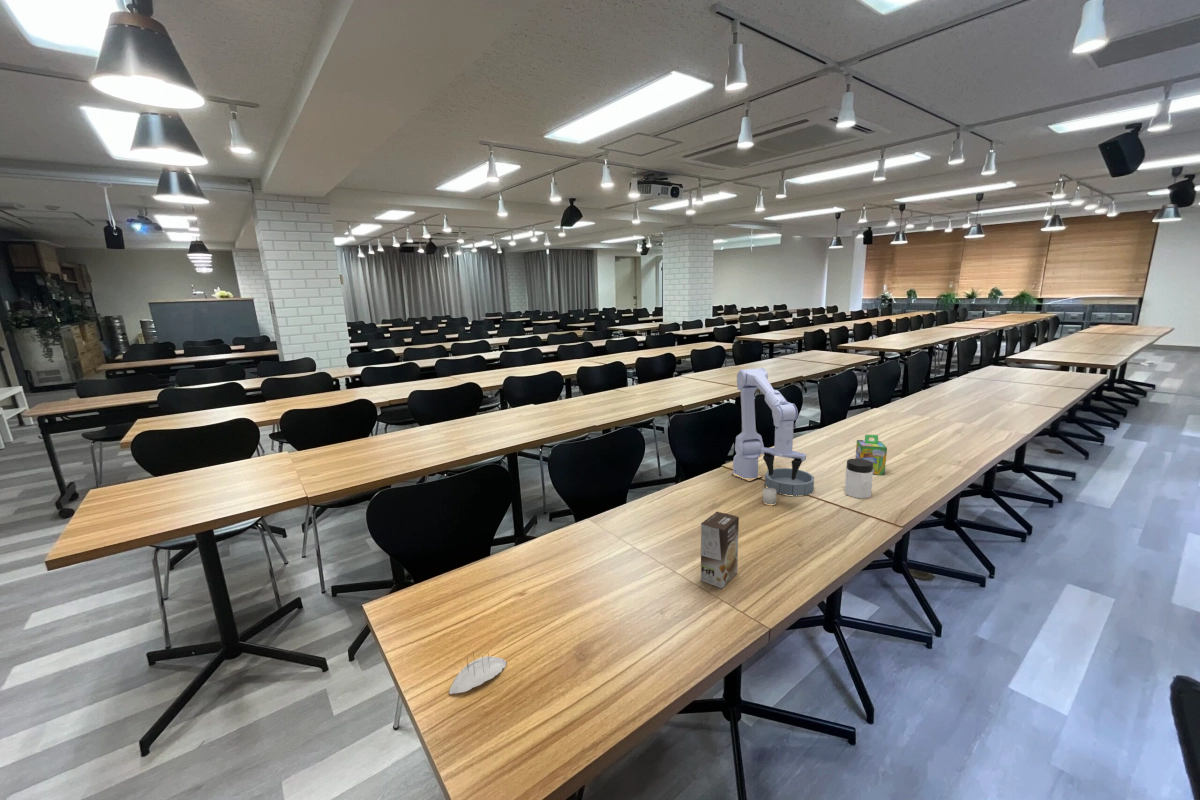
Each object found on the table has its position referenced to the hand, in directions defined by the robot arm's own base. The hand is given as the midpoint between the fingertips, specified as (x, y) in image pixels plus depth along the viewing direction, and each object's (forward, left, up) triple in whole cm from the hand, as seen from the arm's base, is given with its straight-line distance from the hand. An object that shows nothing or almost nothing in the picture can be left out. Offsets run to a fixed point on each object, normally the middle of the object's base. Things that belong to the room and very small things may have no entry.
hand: (782, 476), depth 162 cm
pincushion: (+18, -113, -10) cm, 115 cm away
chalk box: (+1, +52, -10) cm, 53 cm away
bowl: (-7, +13, -10) cm, 18 cm away
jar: (+11, +27, -10) cm, 31 cm away
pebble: (-2, -4, -10) cm, 10 cm away
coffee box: (+20, -50, -10) cm, 55 cm away
